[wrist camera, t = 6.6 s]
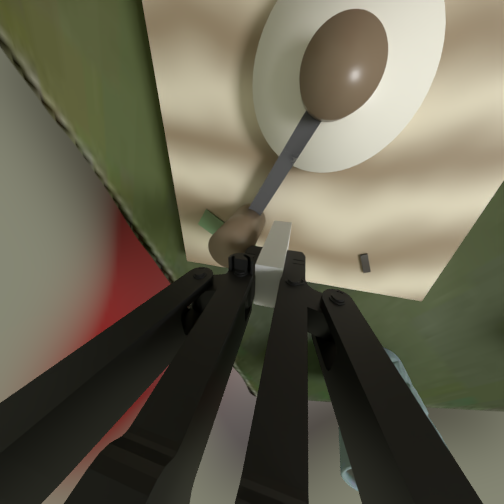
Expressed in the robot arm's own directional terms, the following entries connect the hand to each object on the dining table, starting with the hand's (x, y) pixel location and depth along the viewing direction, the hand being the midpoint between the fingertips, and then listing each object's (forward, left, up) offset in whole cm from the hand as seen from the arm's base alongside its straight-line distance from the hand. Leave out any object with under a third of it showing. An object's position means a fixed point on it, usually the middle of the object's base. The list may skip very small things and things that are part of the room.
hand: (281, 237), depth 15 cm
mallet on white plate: (-7, 0, -2) cm, 7 cm away
